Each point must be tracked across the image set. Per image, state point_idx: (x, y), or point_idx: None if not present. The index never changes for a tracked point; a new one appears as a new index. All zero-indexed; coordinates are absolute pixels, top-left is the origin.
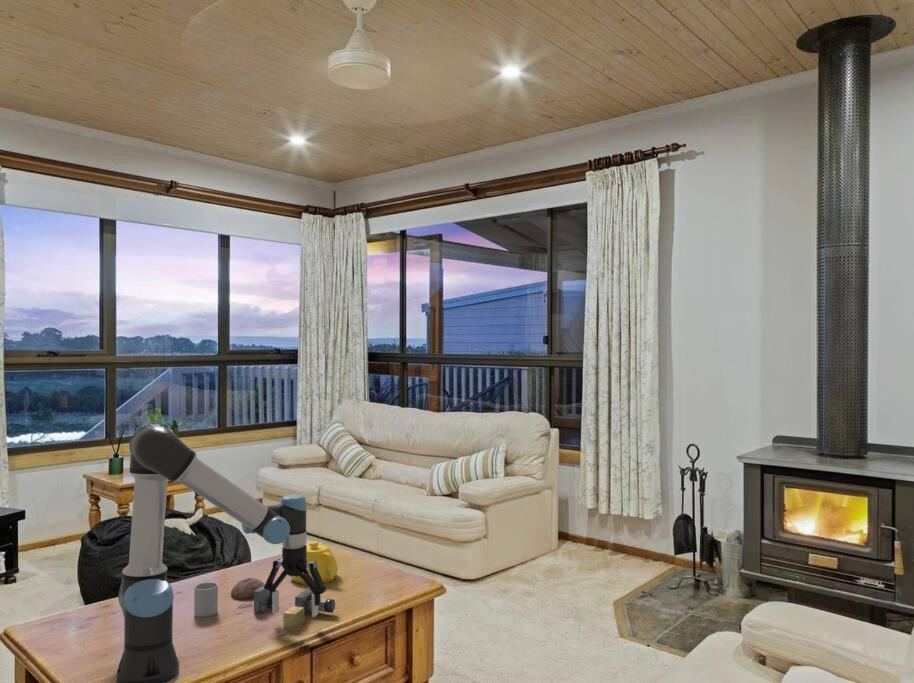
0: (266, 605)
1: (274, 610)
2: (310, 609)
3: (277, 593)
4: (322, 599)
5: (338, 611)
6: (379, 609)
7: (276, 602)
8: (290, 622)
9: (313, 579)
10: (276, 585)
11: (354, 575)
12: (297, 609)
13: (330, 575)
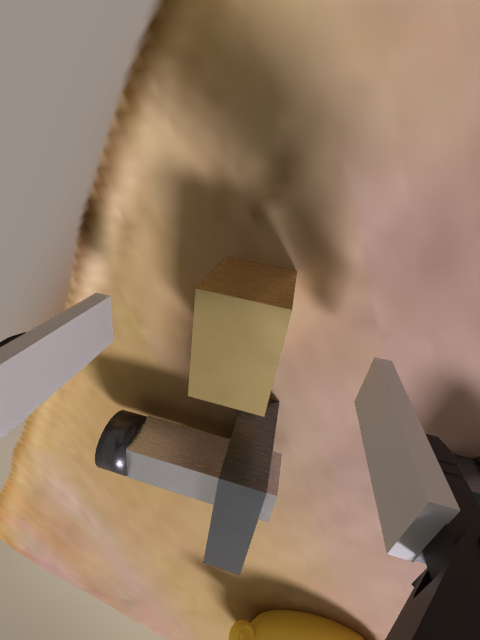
0: None
1: (380, 370)
2: (213, 437)
3: (389, 508)
4: (154, 479)
5: None
6: (22, 436)
7: (379, 428)
8: (245, 276)
9: (294, 632)
10: (431, 615)
11: (204, 620)
12: (213, 366)
13: (238, 636)
